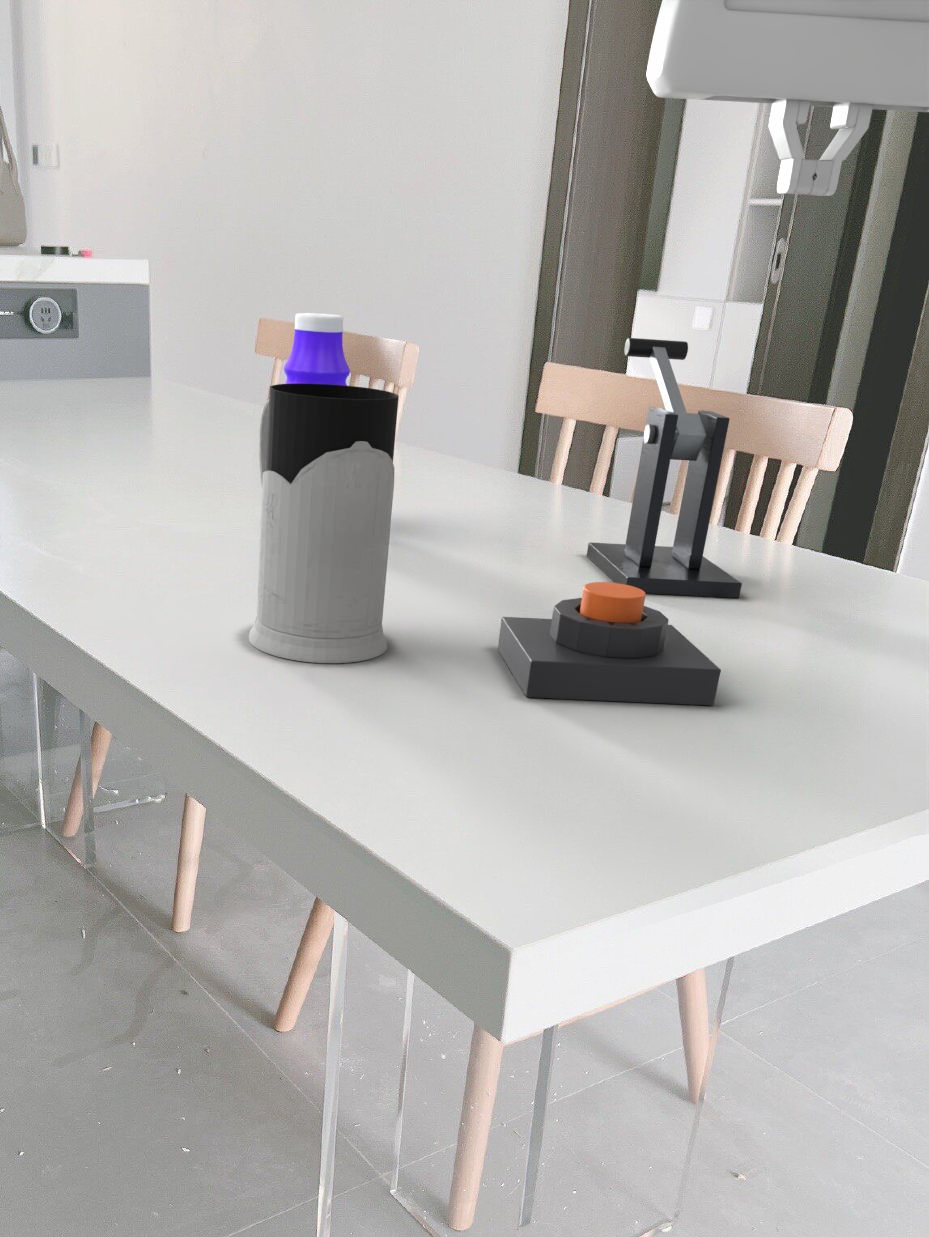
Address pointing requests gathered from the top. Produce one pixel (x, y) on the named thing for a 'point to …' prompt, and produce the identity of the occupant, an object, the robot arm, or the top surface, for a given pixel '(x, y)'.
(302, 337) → the bottle
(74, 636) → the top surface
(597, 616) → the button
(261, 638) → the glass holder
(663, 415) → the bracket
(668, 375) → the lever
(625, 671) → the switch box
